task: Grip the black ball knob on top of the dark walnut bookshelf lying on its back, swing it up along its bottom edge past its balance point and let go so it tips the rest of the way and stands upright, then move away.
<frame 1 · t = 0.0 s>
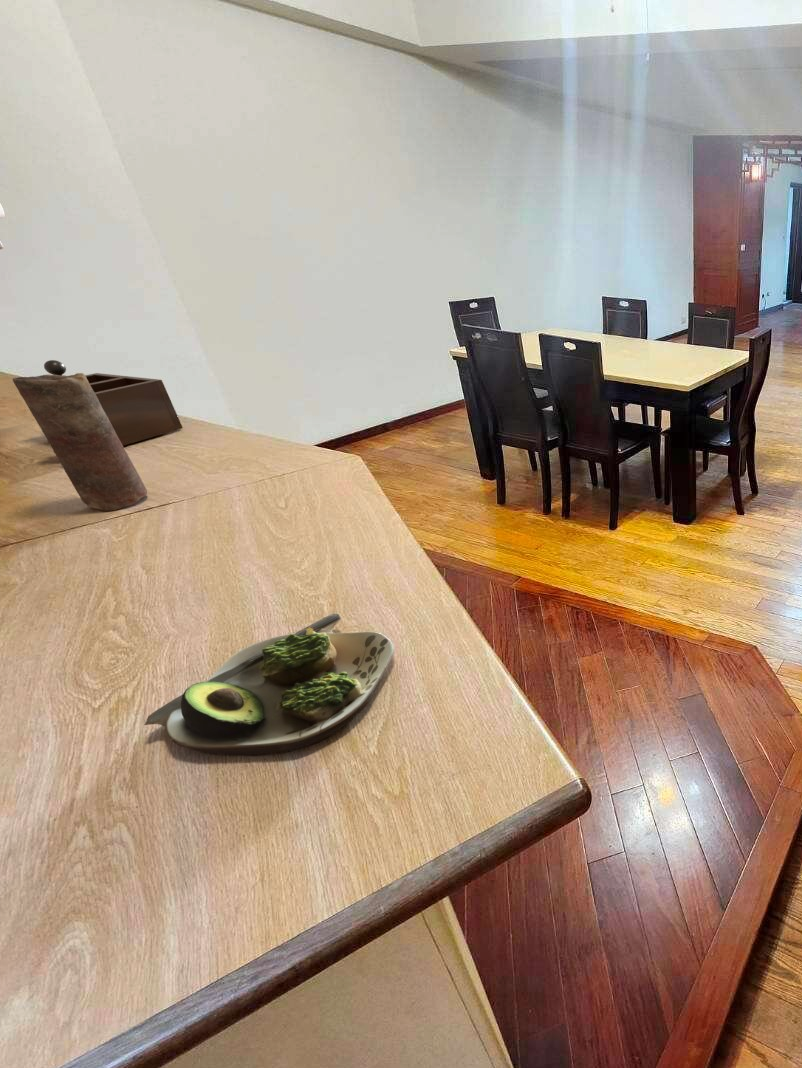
salad plate: (290, 698, 59), on the counter
shelf: (98, 399, 115), point 7 cm above the counter, hinge at -0.1°
brown textured cylinder: (118, 503, 93), on the counter
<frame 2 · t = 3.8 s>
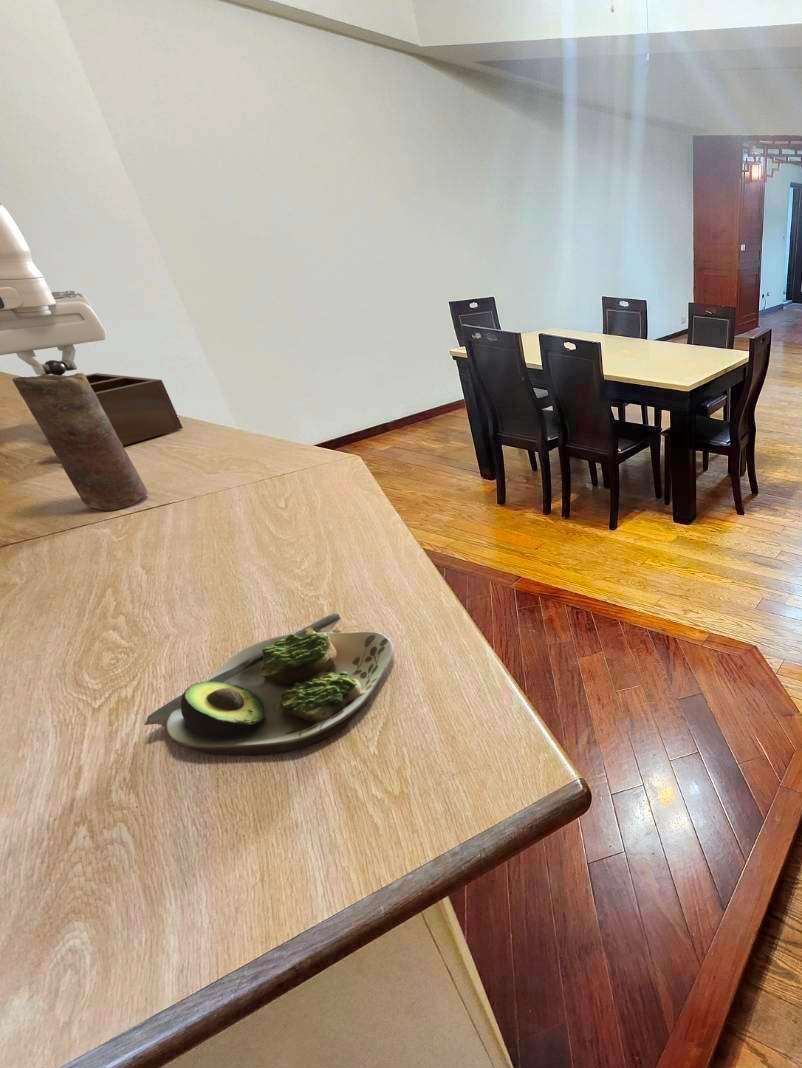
hand: (57, 372, 114), 12 cm above the counter, tool pointing down, fingers closed on shelf, 3 cm apart
shelf: (98, 399, 115), point 7 cm above the counter, hinge at -0.1°, touching gripper
everything else where it was.
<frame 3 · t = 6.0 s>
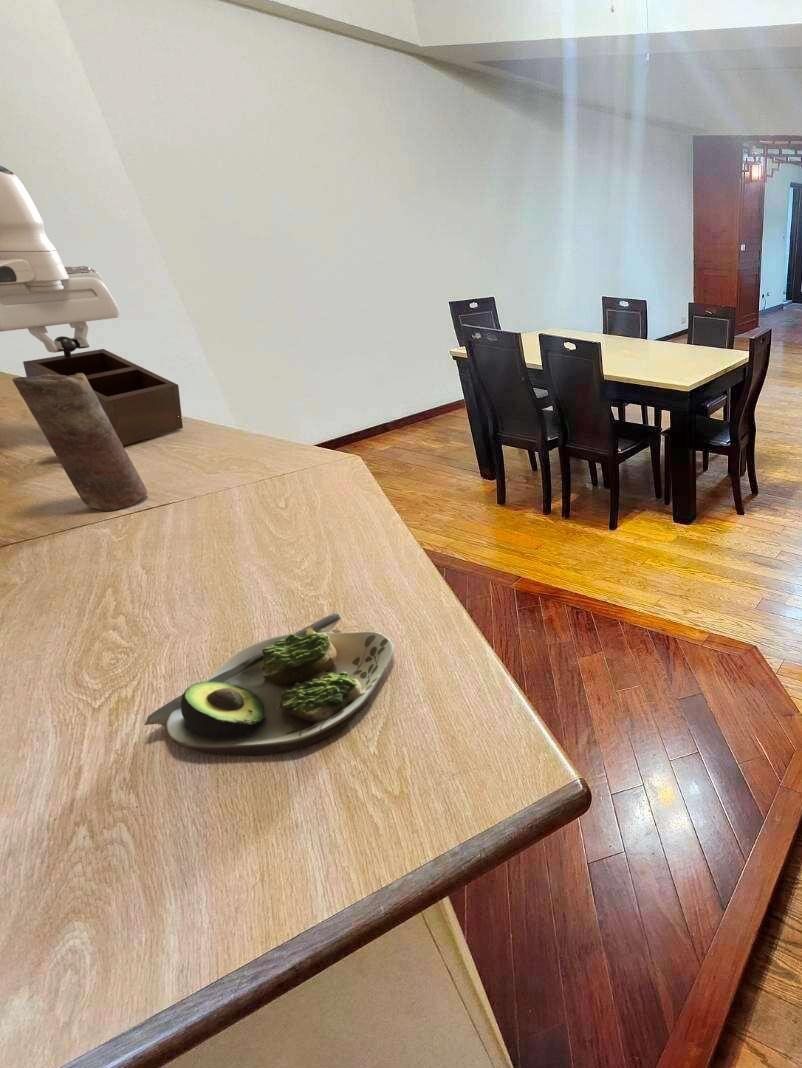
hand: (69, 349, 111), 17 cm above the counter, tool pointing down, fingers closed on shelf, 3 cm apart
shelf: (105, 387, 113), point 10 cm above the counter, hinge at 21.3°, touching gripper
everything else where it was.
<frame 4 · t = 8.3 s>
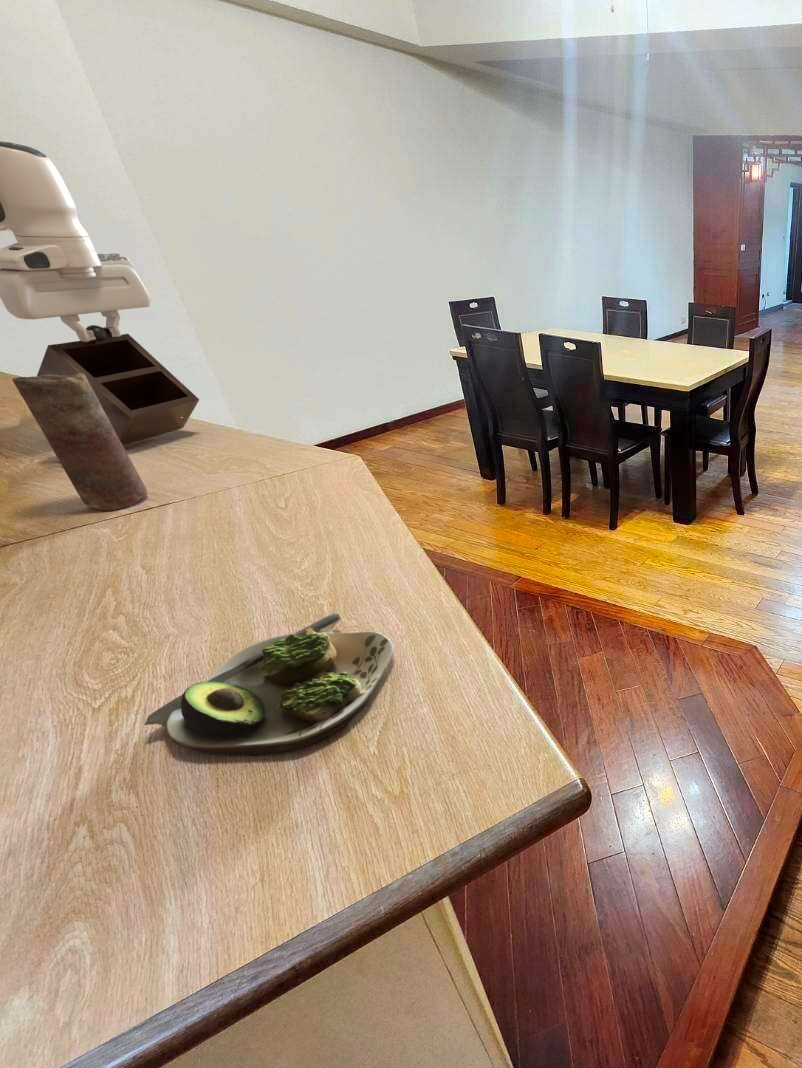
hand: (101, 339, 108), 19 cm above the counter, tool pointing down, fingers closed on shelf, 3 cm apart
shelf: (122, 382, 112), point 11 cm above the counter, hinge at 47.9°, touching gripper
everything else where it was.
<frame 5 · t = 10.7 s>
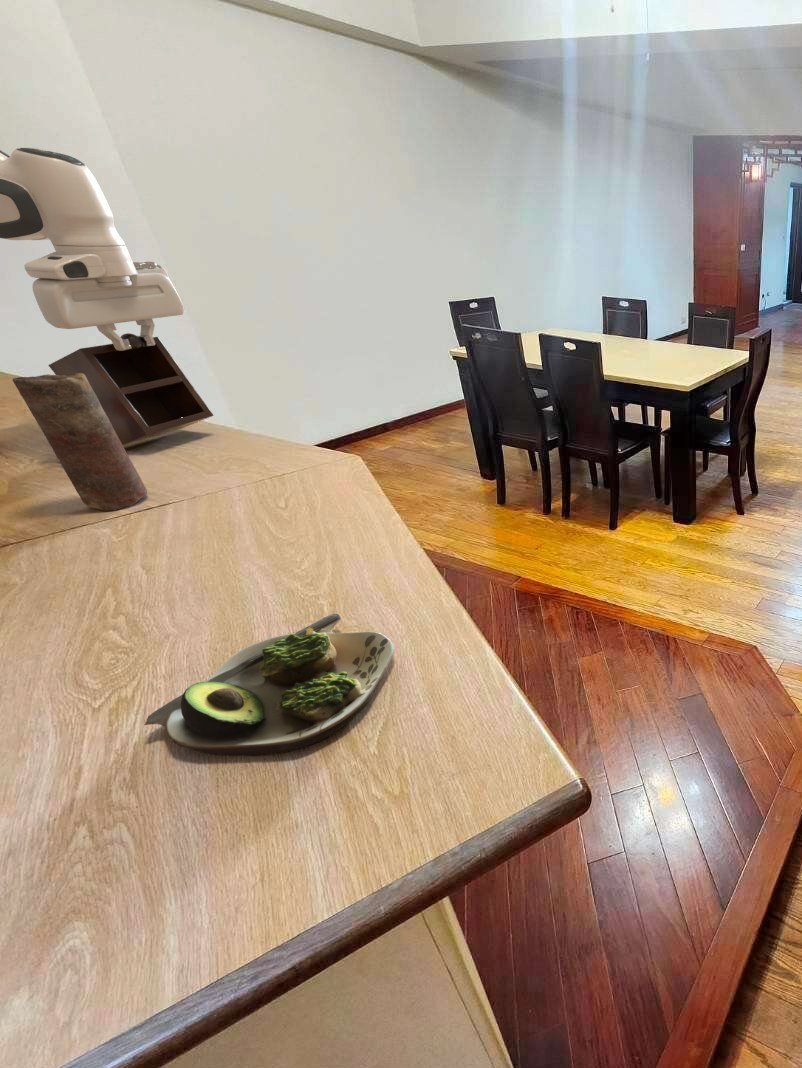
hand: (136, 347, 107), 18 cm above the counter, tool pointing down, fingers closed on shelf, 3 cm apart
shelf: (140, 387, 112), point 11 cm above the counter, hinge at 68.9°, touching gripper
everything else where it was.
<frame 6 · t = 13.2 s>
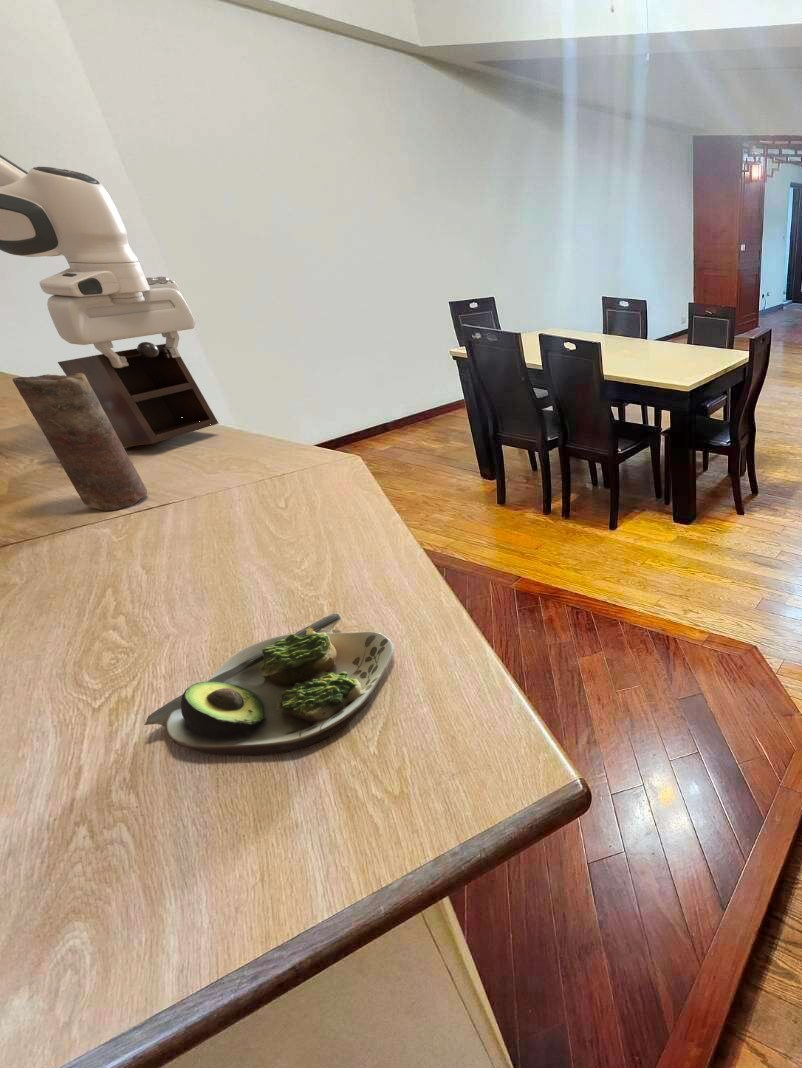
hand: (148, 362, 108), 16 cm above the counter, tool pointing down, fingers closed on shelf, 8 cm apart
shelf: (149, 391, 112), point 10 cm above the counter, hinge at 78.5°, touching gripper
everything else where it was.
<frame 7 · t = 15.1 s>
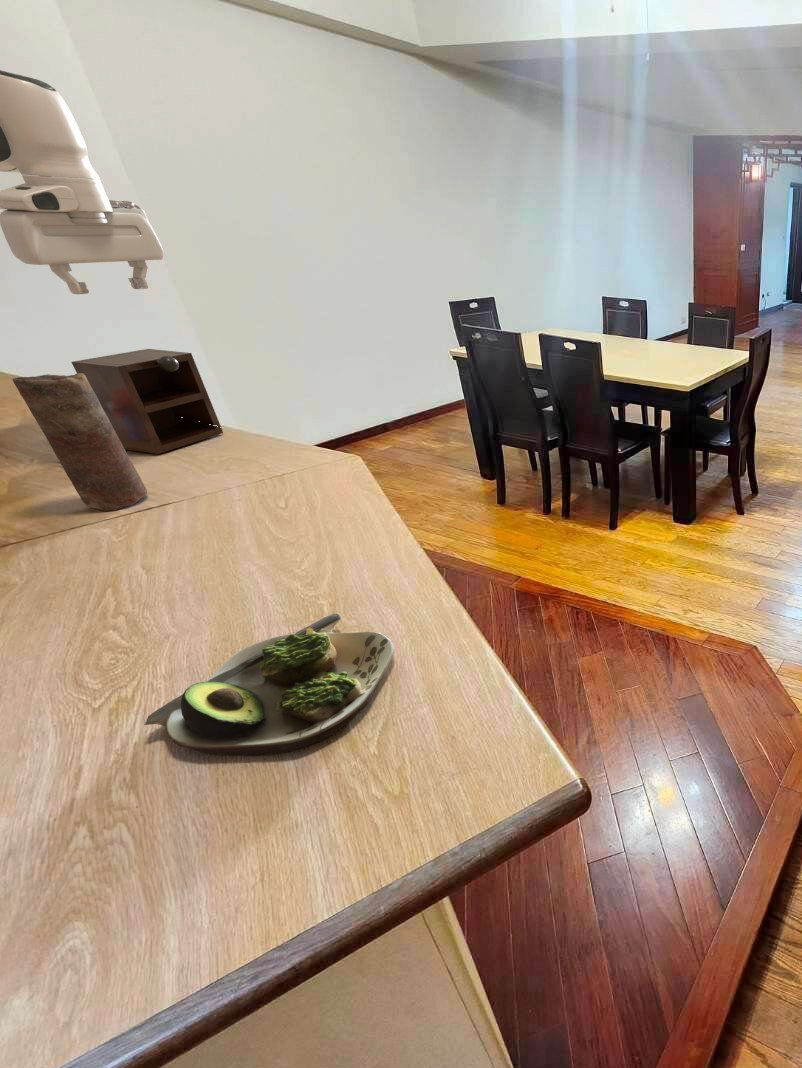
hand: (112, 291, 102), 28 cm above the counter, tool pointing down, fingers open, 8 cm apart
shelf: (160, 399, 112), point 9 cm above the counter, hinge at 90.1°
everything else where it was.
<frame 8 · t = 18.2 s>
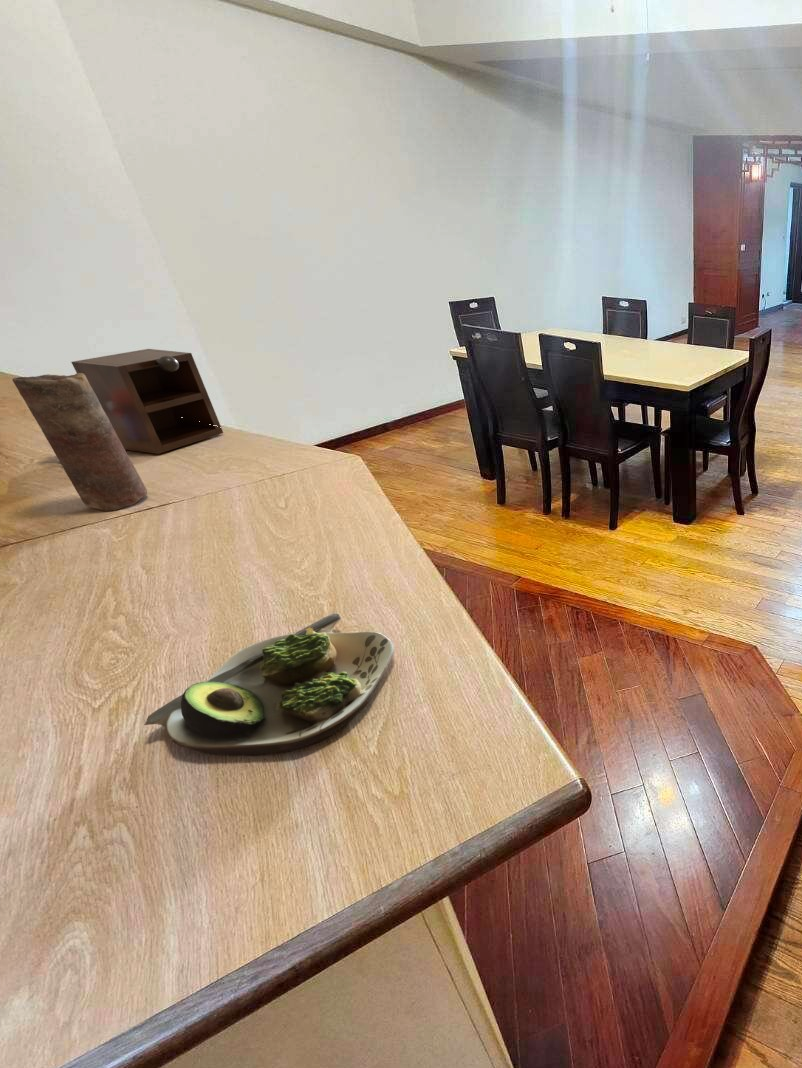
nothing on the counter moved.
at the end: shelf at +90° (first picture: +0°); the gripper is holding nothing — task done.
